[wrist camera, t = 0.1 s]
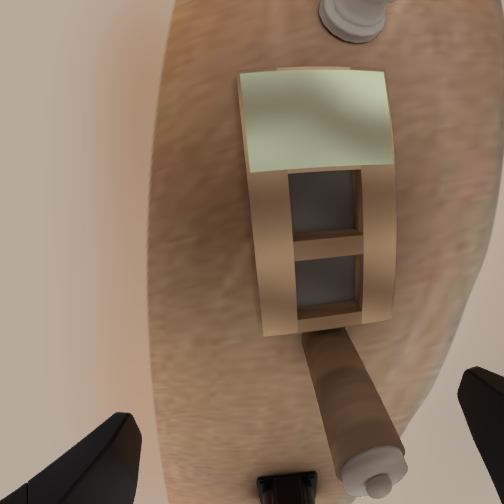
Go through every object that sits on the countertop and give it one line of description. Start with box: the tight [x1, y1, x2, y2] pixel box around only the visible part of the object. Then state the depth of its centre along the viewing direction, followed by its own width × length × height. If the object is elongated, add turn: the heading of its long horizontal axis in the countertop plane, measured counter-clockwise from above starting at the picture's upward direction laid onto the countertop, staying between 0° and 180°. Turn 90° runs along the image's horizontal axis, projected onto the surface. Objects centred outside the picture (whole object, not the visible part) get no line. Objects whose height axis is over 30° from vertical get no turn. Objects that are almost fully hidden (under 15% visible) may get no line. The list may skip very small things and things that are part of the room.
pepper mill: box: [302, 327, 408, 499], centre depth 16 cm, size 3×3×14 cm
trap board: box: [236, 67, 397, 337], centre depth 19 cm, size 16×9×2 cm, turn 6°
